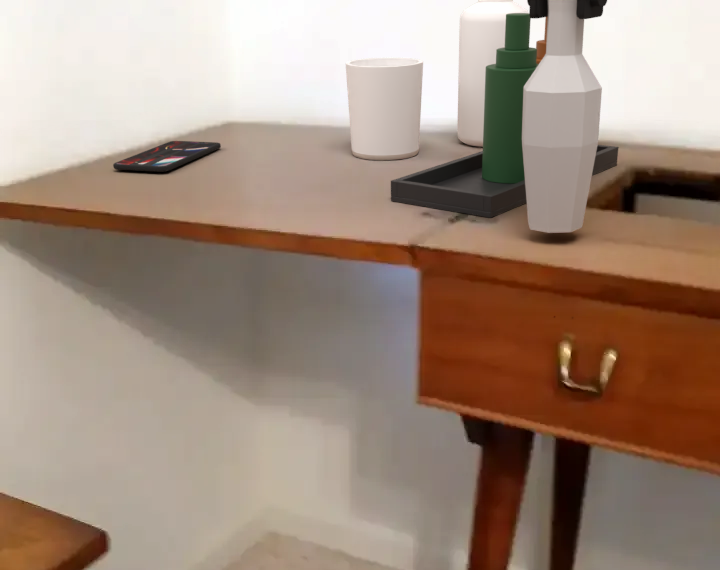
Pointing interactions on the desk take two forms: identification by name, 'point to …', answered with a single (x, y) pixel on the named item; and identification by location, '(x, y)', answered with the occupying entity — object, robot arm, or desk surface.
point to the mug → (384, 107)
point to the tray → (472, 186)
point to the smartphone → (167, 156)
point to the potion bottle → (478, 61)
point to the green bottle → (507, 103)
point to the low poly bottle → (560, 126)
